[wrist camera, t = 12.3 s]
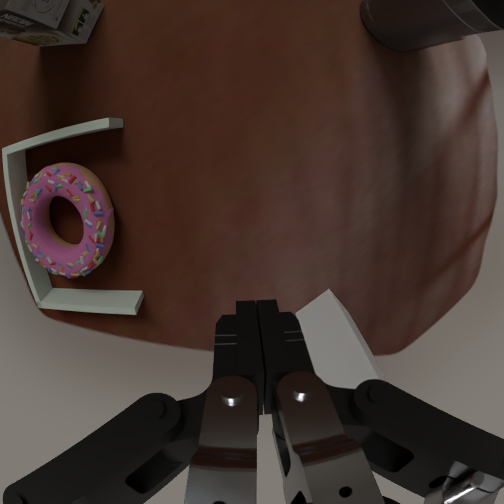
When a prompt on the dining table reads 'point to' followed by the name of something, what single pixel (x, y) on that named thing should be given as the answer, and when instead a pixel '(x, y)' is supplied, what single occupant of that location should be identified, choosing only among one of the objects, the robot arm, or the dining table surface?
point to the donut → (92, 212)
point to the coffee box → (49, 21)
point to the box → (34, 271)
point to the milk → (336, 344)
